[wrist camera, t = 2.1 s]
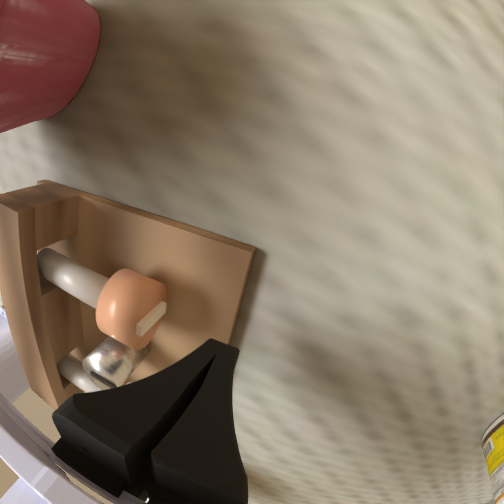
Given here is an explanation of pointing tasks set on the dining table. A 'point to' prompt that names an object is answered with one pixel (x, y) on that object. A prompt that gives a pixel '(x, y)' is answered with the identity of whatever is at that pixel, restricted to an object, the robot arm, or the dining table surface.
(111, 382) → the pot dial
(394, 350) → the dining table surface
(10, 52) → the plant pot
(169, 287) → the mount
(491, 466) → the supplement bottle
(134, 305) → the knob terracotta
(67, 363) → the knob ivory
